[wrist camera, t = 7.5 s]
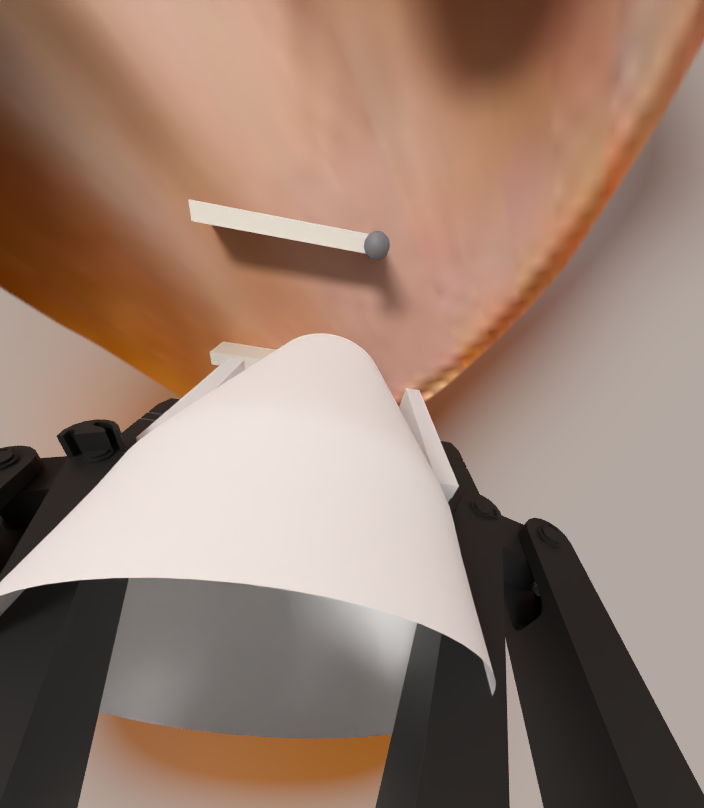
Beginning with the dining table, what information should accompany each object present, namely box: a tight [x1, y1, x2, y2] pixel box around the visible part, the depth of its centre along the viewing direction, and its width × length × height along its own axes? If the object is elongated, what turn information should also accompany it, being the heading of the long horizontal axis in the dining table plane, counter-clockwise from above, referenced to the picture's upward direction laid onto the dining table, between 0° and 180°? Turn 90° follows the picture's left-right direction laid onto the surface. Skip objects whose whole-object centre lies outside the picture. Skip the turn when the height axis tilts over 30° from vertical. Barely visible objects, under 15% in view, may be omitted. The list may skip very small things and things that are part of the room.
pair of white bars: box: [188, 199, 389, 369], centre depth 27 cm, size 17×16×6 cm
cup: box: [0, 333, 496, 738], centre depth 10 cm, size 9×9×12 cm
